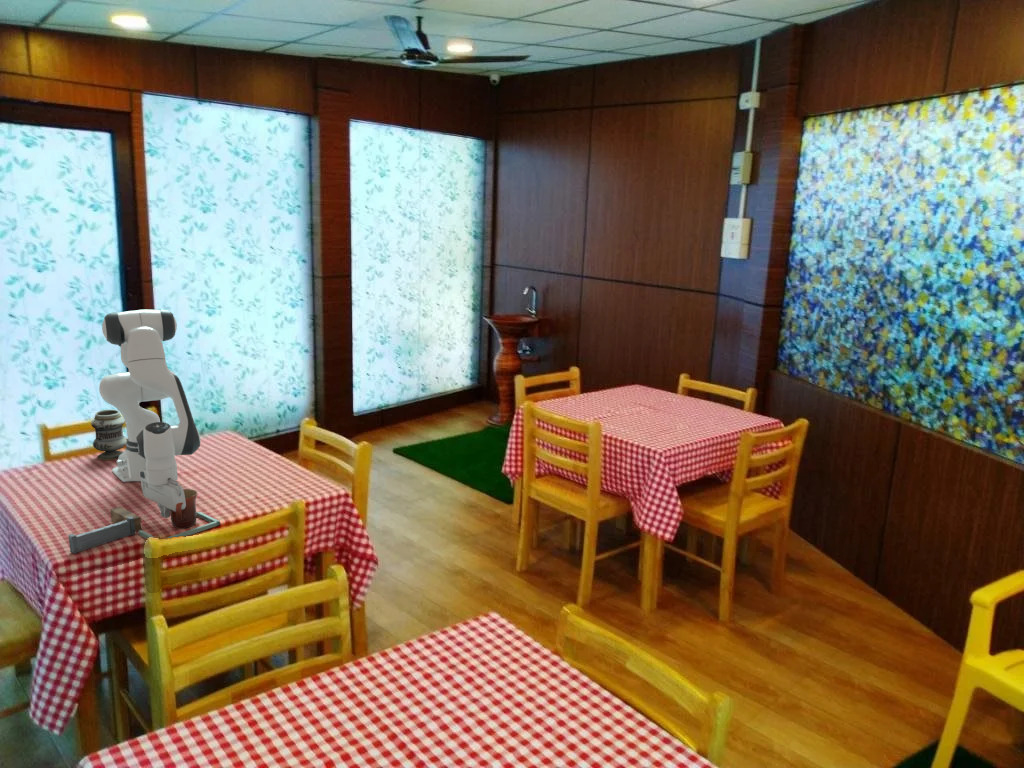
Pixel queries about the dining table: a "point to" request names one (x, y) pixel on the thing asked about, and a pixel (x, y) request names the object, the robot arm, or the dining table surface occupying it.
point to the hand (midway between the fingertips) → (165, 516)
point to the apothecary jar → (108, 434)
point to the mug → (185, 511)
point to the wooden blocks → (125, 517)
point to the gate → (101, 535)
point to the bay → (192, 531)
